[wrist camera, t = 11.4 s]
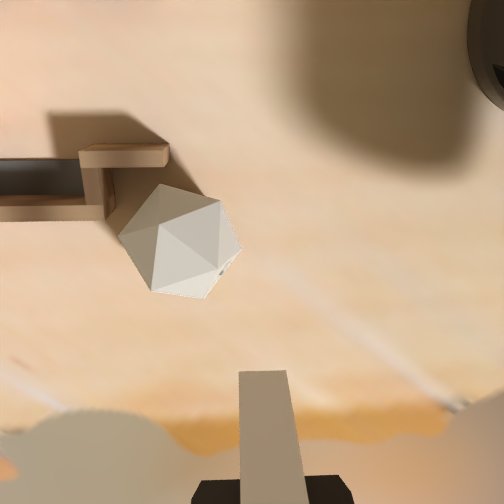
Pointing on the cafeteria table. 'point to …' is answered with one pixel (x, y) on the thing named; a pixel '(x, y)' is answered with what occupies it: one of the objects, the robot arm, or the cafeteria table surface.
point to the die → (180, 242)
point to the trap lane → (71, 183)
